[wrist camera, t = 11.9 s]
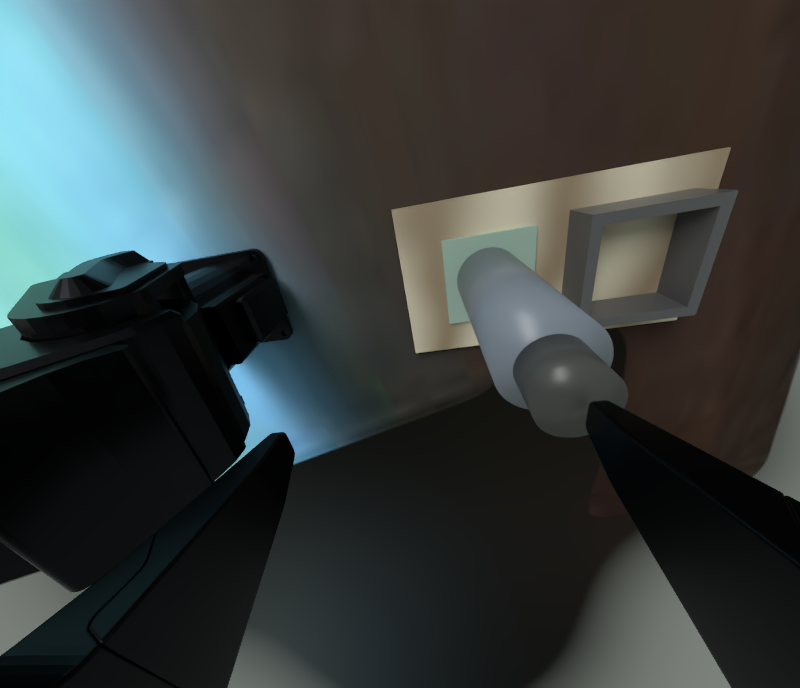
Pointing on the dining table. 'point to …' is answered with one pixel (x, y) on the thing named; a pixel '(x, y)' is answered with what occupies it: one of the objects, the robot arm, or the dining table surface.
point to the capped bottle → (538, 343)
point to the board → (546, 236)
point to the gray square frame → (684, 262)
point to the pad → (460, 249)
